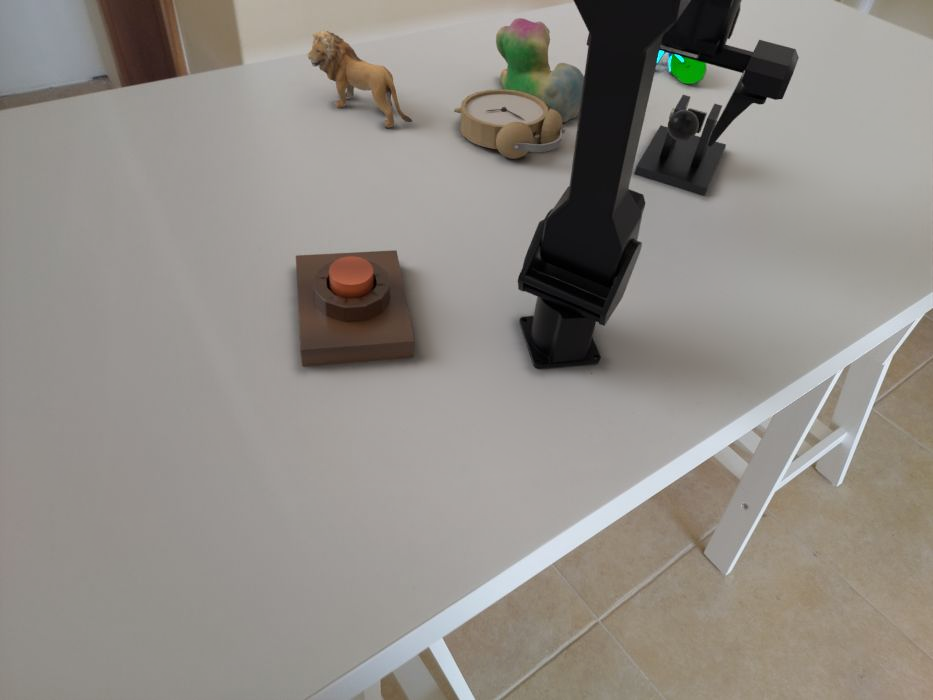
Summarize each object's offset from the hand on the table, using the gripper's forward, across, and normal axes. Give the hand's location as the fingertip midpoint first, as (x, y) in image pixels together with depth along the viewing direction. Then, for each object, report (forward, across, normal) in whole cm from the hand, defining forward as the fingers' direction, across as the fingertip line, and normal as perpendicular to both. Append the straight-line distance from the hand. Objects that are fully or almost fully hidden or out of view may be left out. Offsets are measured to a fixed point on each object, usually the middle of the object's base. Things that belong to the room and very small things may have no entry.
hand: (665, 131), depth 75 cm
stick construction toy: (+12, +6, -45) cm, 47 cm away
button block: (+13, +20, +28) cm, 37 cm away
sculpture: (+12, +21, -22) cm, 33 cm away
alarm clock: (+13, +20, -11) cm, 26 cm away
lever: (+5, -1, -10) cm, 12 cm away
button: (+9, +20, +28) cm, 36 cm away
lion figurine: (+13, +40, -6) cm, 43 cm away
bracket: (+12, -1, -18) cm, 22 cm away
